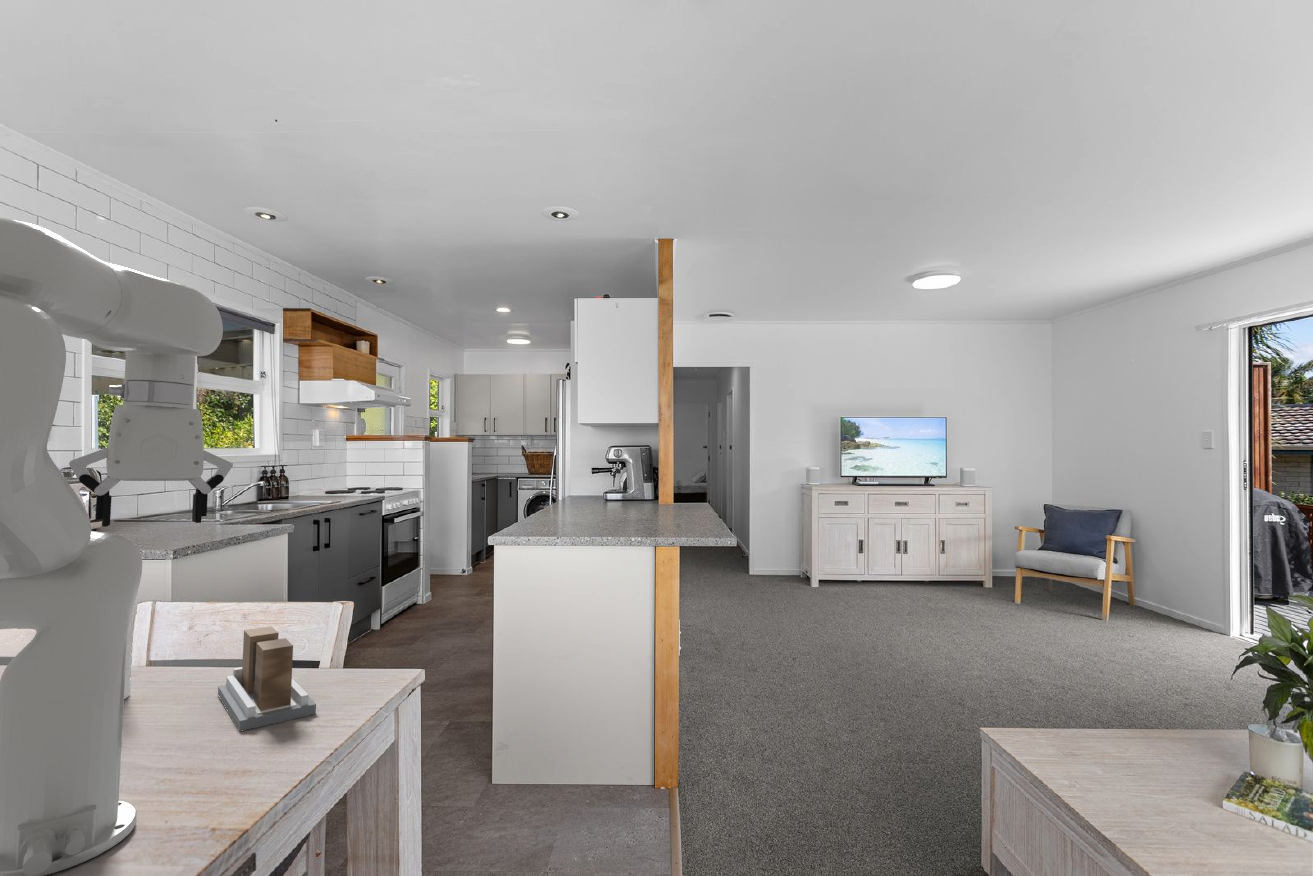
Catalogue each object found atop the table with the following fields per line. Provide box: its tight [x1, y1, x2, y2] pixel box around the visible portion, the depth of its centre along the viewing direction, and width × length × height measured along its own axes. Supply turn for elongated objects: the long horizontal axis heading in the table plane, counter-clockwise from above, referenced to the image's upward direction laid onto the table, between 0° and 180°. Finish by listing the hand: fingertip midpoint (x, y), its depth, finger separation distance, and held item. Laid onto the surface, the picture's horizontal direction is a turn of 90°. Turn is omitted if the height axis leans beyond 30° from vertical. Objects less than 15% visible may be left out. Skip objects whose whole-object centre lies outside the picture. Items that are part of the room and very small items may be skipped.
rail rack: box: [217, 626, 317, 732], centre depth 101 cm, size 18×10×10 cm, turn 43°
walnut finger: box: [254, 637, 294, 711], centre depth 98 cm, size 4×6×9 cm
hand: (152, 523), depth 86 cm, fingers open, 9 cm apart
